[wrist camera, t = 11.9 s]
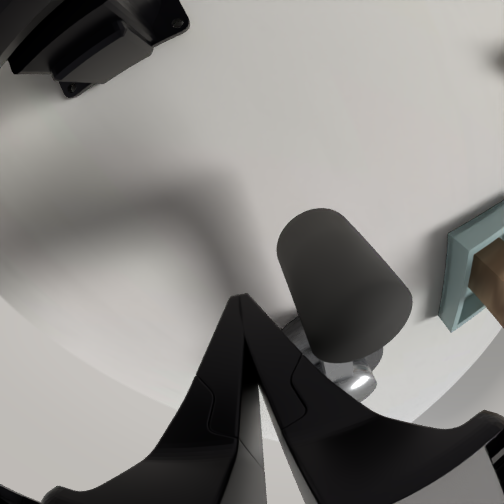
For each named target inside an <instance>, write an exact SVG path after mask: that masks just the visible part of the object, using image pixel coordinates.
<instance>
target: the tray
mask: <svg viewBox="0 0 504 504" xmlns="http://www.w3.org/2000/svg"><path fill="white" fill-rule="evenodd" d="M498 237H499V238H501V239H502V240H503V241H504V200H503V201H502V202H500V203H498V204H497V205H495V206H494V207H492V208H491V209H489V210H487V211H486V212H484V213H482V214H481V215H479V216H478V217H476V218H474V219H473V220H471V221H469V222H467V223H466V224H464V225H462V226H461V227H459V228H457V229H455V230H454V231H452V232H450V233H448V245H447V258H446V268H445V277H444V284H443V291H442V298H441V304H440V309H439V314H438V316H439V317H440V319H441V320H442V321H443V323H444V324H445V325H446V327H447V328H448V329H449V331H450V332H453V331H454V330H456V329H457V328H459V327H460V326H462V325H463V324H464V323H466V322H467V321H469V320H470V319H471V318H473V317H474V316H475V315H477V314H478V313H479V312H481V311H482V310H483V309H484V308H486V306H485V305H484V304H483V303H482V302H481V301H480V300H479V298H478V297H477V296H476V295H475V294H474V293H473V292H472V291H471V290H470V289H469V288H468V283H469V278H470V273H471V268H472V262H473V256H474V254H475V253H477V252H478V251H480V250H481V249H483V248H484V247H486V246H487V245H488V244H490V243H491V242H493V241H494V240H495V239H497V238H498Z"/></svg>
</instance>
